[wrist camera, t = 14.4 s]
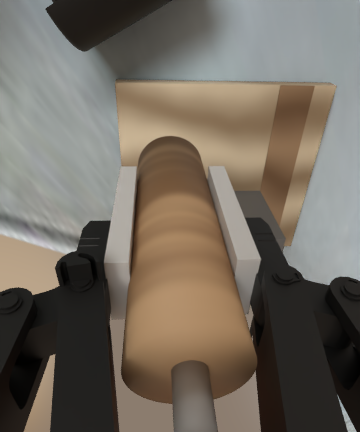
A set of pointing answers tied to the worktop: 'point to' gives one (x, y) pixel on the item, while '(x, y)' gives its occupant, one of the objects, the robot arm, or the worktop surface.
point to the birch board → (234, 131)
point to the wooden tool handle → (182, 293)
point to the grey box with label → (259, 212)
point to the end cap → (97, 18)
